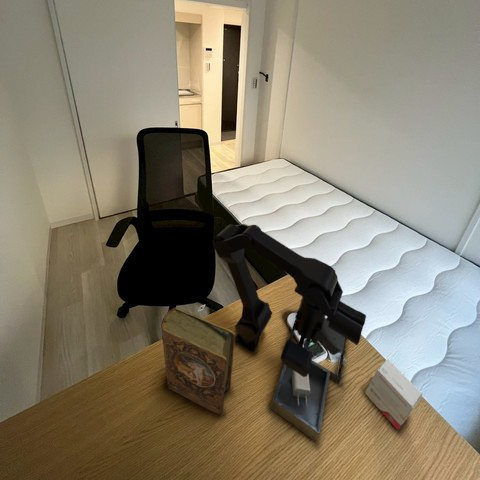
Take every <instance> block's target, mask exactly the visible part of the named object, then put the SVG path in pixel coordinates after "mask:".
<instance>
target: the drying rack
mask: <svg viewBox="0 0 480 480" xmlns="http://www.w3.org/2000/svg"><path fill="white" fill-rule="evenodd" d="M295 332H296V330H295V329H293V327H291V330H290V333H289V337H288V339H287V340H292V341H293V337H294V334H295ZM347 341H348V339H346V338H345V343H344V349H343V351H341V352H339V359H338V364H337V372H336V373H334V372H333V371H331V370H329V371H330V377H329V380H331V381H333V382H334V383H336V384H337V385H339V384H340V383H341V380H342V373H343V372H342V371H343V368H344V359H345V354H346V343H347ZM340 354H341V355H340ZM314 362H315V363H317V362H316V361H314ZM319 365H320V366H322V365H321V364H319ZM324 368H325V369H327V368H326V367H324Z"/></svg>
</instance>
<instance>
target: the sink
mask: <svg viewBox="0 0 480 480" xmlns="http://www.w3.org/2000/svg"><path fill="white" fill-rule="evenodd" d="M315 362H316V361H314V360H312V362H311V365H310V369H309V373H308V376H309V384H310V394H309V397H308V398H307V408H306V399H305V398H303V397H299V406H298V399H297V396H294V395H293V389H292V371H293V370H292V369H291V368H289V367H288V366H287V365H285V364H284V363H283V367H282V370H281V373H280V376H279V378H278V381H277V385H276V387H275V391H274V395H273V396H272V397H273V398H272V401H271V404H270V409H271V410H272V411H273V412H275V413H276V414H277V415H278V416H280V417H282V419H284V420H286V421H287V423H290V424H291V425H292V426H294V427H295V428H296V429H297V430H299V431H300V432H302V433H303V434H304V435H305V436H307V437H308V438H310V439H311V440H312V441H314V442H317V440H318V438H319V435H320V434H321V427H322V422H323V415H324V410H325V405H326V399H327V393H328V388H329V381H330V379H329V377H330V371H331V370H329V369H327V368H326V367H324V366H323V365H321V364H319V363H318V362H316V363H315ZM320 365H321V366H320ZM325 368H326V369H325Z"/></svg>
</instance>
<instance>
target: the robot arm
mask: <svg viewBox="0 0 480 480" xmlns="http://www.w3.org/2000/svg"><path fill="white" fill-rule="evenodd" d="M212 245H213V248H214V250H215V251H216V254H217V256H218V258H220V259H221V260H223V261H224V262H226V264H227V266H228V269H229V271H230V274H231V277H232V279H233V282H234V285H235V288H236V291H237V293H238V296H239V298H240V299H239V300H240V301H241V304H242V310H241V316H240V318H239V320H238V321H237V323H236V324H235V326H234V329H235V333H237V334H236V335H235V343H238V344H239V345H240V346H242V347H243V348H245V349H246V350H248V351H249V352H251V353H254V352H255V350H256V348H257V347H258V346H259V345H260V342H261V340H262V336H263V333H264V331H265V329H266V328H267V325H268V324H269V322H270V320H271V319H272V315H273V312H272V310H271V308H270V304H269V302H266V301H264V300H262V299H260V297H259V294H258V292H257V289H256V286H255V283H254V280H253V277H252V274H251V272H250V269H249V266H248V263H247V260H246V258H245V251H246V250H245V249H251V250H253V251H254V252H255V253H257V254H258V255H260V256H261V257H263V258H264V259H266V260H267V261H268V262H270V263H272V264H273V265H274V266H276V267H277V268H278V269H280V270H282V271H283V272H284V273H286V274H287V275H289V276H290V278H292V279H293V280H294V283H295V285H296V286H295V288H294V290H293V291H294V292H295V293H296V294H298V295H299V296H301V300H300V303H299V305H298V309H297V312H296V314H295V319H294V321H293V324H292V328H293V329H295V332H297V334H298V335H299V336H300V338H299V341H298V343H296V342H295V341H294V340H293V339H292V340H288V339H286V341H285V344H284V346H283V349H282V352H281V355H280V361H281V363H283V365H284V364H285V365H287V366H288V367H289V368H291V369H292V370H294V371H295V372H297V373H298V374H300V375H301V376H303V377H306V376H307V375H308V373H309V369H310V365H311V362H312V361H313V359H314V358H313V357H314V355H313V354H312V353H311V351H310V350H309V347H310V345H311V343H313V344H314V345H318V343H319V344H320V345H321V346H322V347H323V348H324V349H325V350H327V352H328V353H329V354H330V355H332V356H335V355H337V354H340V352H341V351H343V349H344V343H345V338H346V339H347V341H349V342H350V343H353V344H354V345H356V346H358V345H359V343H360V341H361V336H362V332H363V328H364V326H365V324H366V319H367V314H365V313H364V312H362V311H360V310H357V309H355V308H353V307H352V306H350V305H348V304H346V303H345V302H343V301H341V299H342V297H343V293H344V291H343V289H342V286H341V284H340V282H339V278H338V275H337V273H336V270H335V268H333V266H331V265H329V264H328V263H326V262H323V261H321V260H319V259H317V258H315V257H305V256H303V255H301V254H299V253H298V252H296V251H294V250H293V249H291V248H290V247H288V246H286V245H285V244H284V243H282V242H280V241H279V240H277V239H276V238H274V237H272V236H271V235H269V234H268V233H266V232H264V231H263V230H262V229H261V227H259V225H257V224H249V225H248V224H246V223H241V224H228V225H227V226H226V227H225V228H224V229H222V230H221V231H220V232H219V233H218V234H217V235H216V236H214V238H213V240H212Z"/></svg>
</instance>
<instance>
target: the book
mask: <svg viewBox="0 0 480 480" xmlns="http://www.w3.org/2000/svg"><path fill="white" fill-rule="evenodd" d="M160 326H161V336H162V337H161V338H162V344H163V345H162V346H163V355H164V364H165V366H164V367H165V373H166V374H165V375H166V383H167V388H168V389H169V390H171V391H173V392H175V393H177V394H179V395H181V396H183V397H185V398H187V399H188V400H190V401H192V402H194V403H195V404H198V405H200V406H201V407H203V408H205V409H207V410H209V411H211V412H213V413H215V414H217V415H219V416H220V415H222V414H223V411H224V401H225V400H224V399H225V392H226V391H228V390H230V389H231V384H232V374H233V364H234V363H233V362H234V353H235V343H236V341H235V338H236V332H234V330H231V329H229V328H226V327H224V326H222V325H219V324H217V323H214V322H212V321H210V320H207V319H206V318H203V317H200V316H198V315H197V314H194V313H191V312H189V311H186V310H184V309H181V308H178V307H177V306H176V307H172V308H171V309H169V310H168V311H167V313H166V314H165V315H164V316H163V318H162V321H161V325H160Z"/></svg>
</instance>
